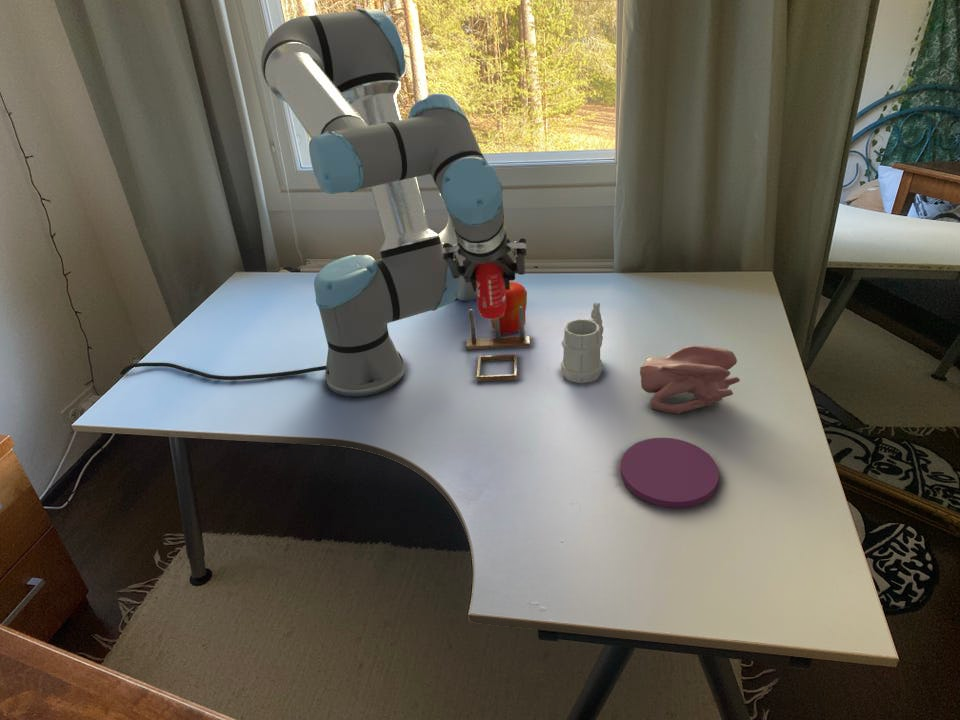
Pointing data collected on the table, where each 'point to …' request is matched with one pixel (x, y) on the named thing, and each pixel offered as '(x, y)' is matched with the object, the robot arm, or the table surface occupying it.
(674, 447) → the lid
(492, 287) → the beverage can
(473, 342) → the rack
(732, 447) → the table surface
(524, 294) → the apple
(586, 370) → the mug
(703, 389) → the figurine
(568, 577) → the table surface
